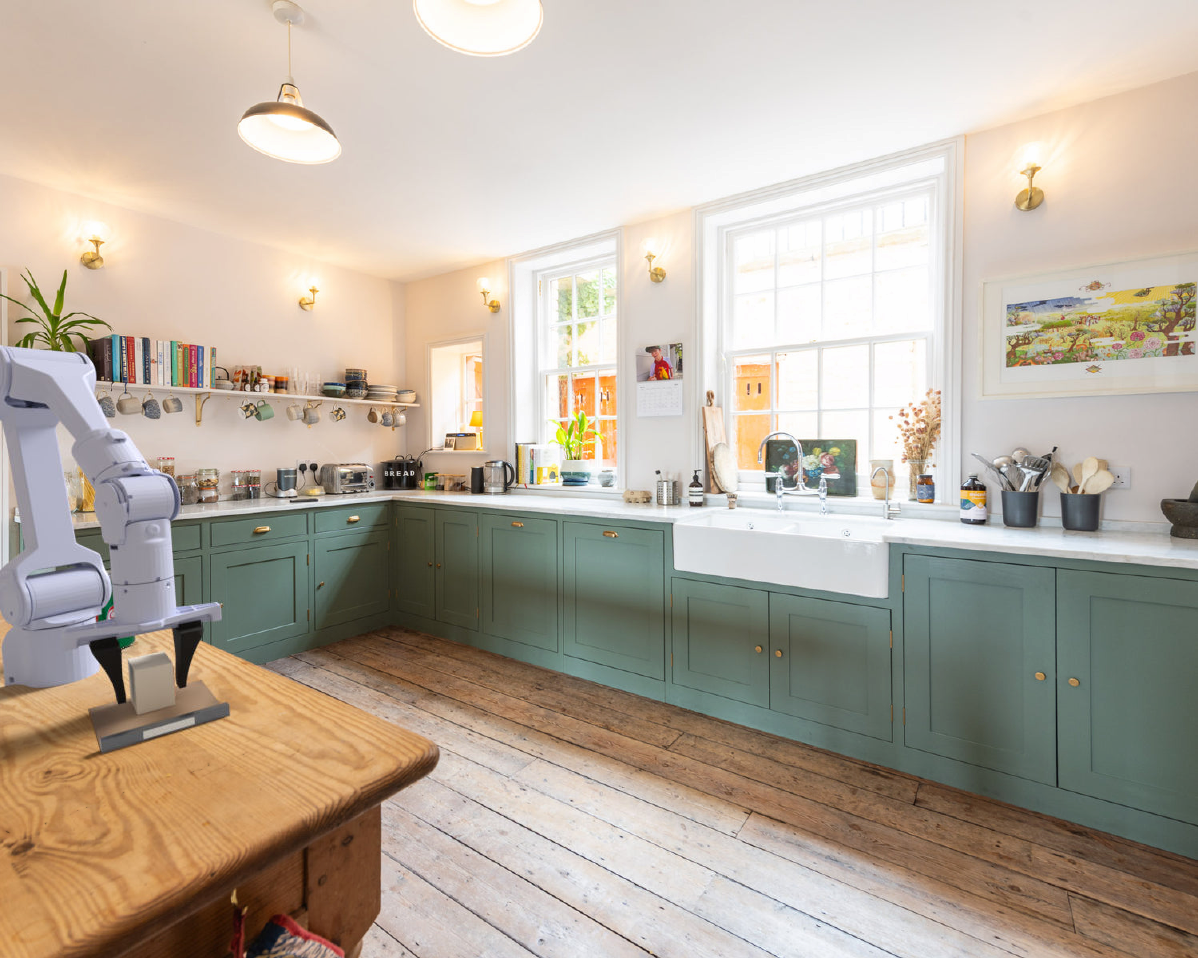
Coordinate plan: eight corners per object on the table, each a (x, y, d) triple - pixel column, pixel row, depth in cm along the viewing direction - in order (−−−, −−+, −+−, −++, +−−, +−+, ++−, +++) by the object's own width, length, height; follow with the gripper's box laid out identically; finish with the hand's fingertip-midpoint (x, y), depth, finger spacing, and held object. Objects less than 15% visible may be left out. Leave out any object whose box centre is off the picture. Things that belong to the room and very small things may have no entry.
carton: (177, 704, 69) (174, 662, 69) (137, 714, 66) (134, 671, 66) (168, 690, 73) (165, 650, 72) (130, 699, 70) (127, 658, 70)
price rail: (101, 753, 58) (101, 741, 58) (100, 749, 59) (99, 737, 59) (230, 715, 66) (229, 704, 66) (227, 712, 67) (226, 701, 67)
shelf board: (103, 767, 58) (101, 753, 58) (89, 721, 68) (88, 708, 68) (230, 727, 66) (229, 714, 66) (201, 691, 76) (201, 679, 76)
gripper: (61, 598, 61) (72, 726, 62) (224, 573, 71) (231, 683, 72) (57, 586, 66) (67, 705, 67) (210, 565, 76) (217, 668, 77)
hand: (152, 693), depth 69 cm, fingers open, 5 cm apart
